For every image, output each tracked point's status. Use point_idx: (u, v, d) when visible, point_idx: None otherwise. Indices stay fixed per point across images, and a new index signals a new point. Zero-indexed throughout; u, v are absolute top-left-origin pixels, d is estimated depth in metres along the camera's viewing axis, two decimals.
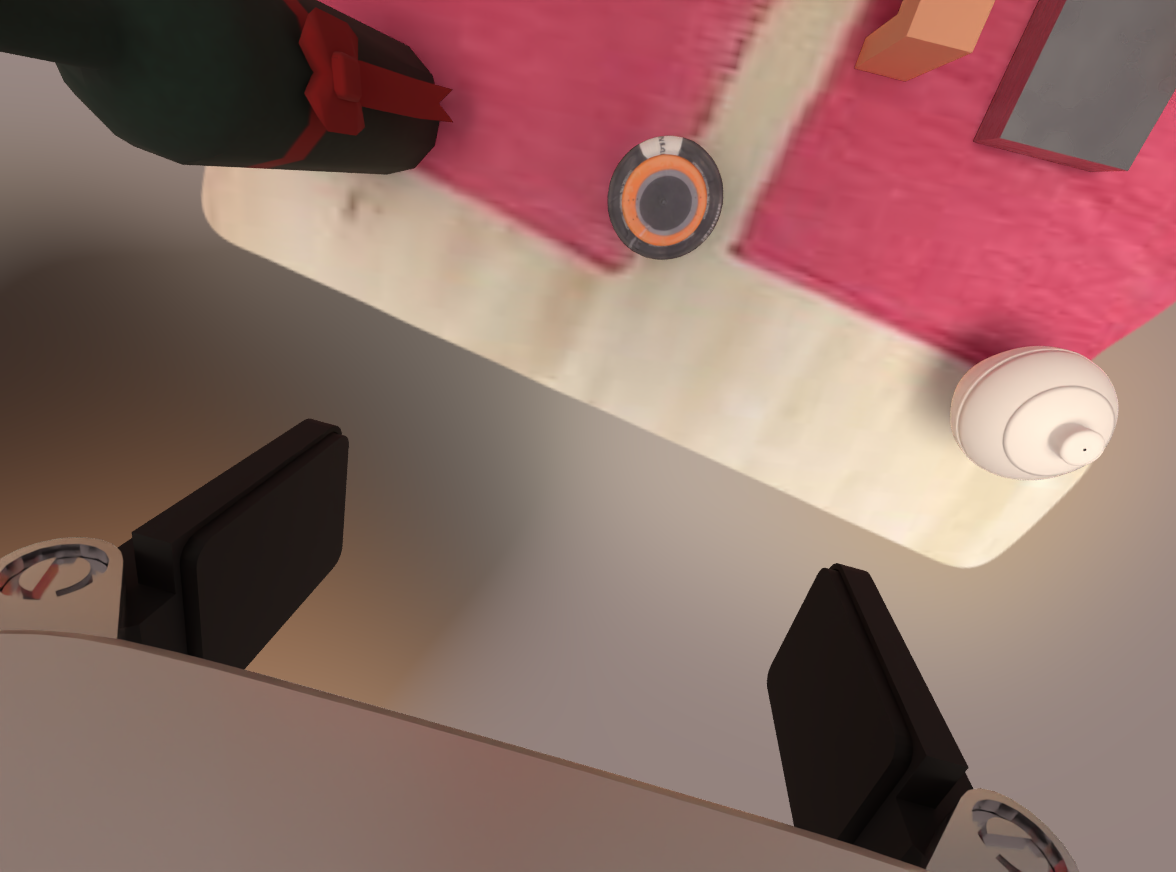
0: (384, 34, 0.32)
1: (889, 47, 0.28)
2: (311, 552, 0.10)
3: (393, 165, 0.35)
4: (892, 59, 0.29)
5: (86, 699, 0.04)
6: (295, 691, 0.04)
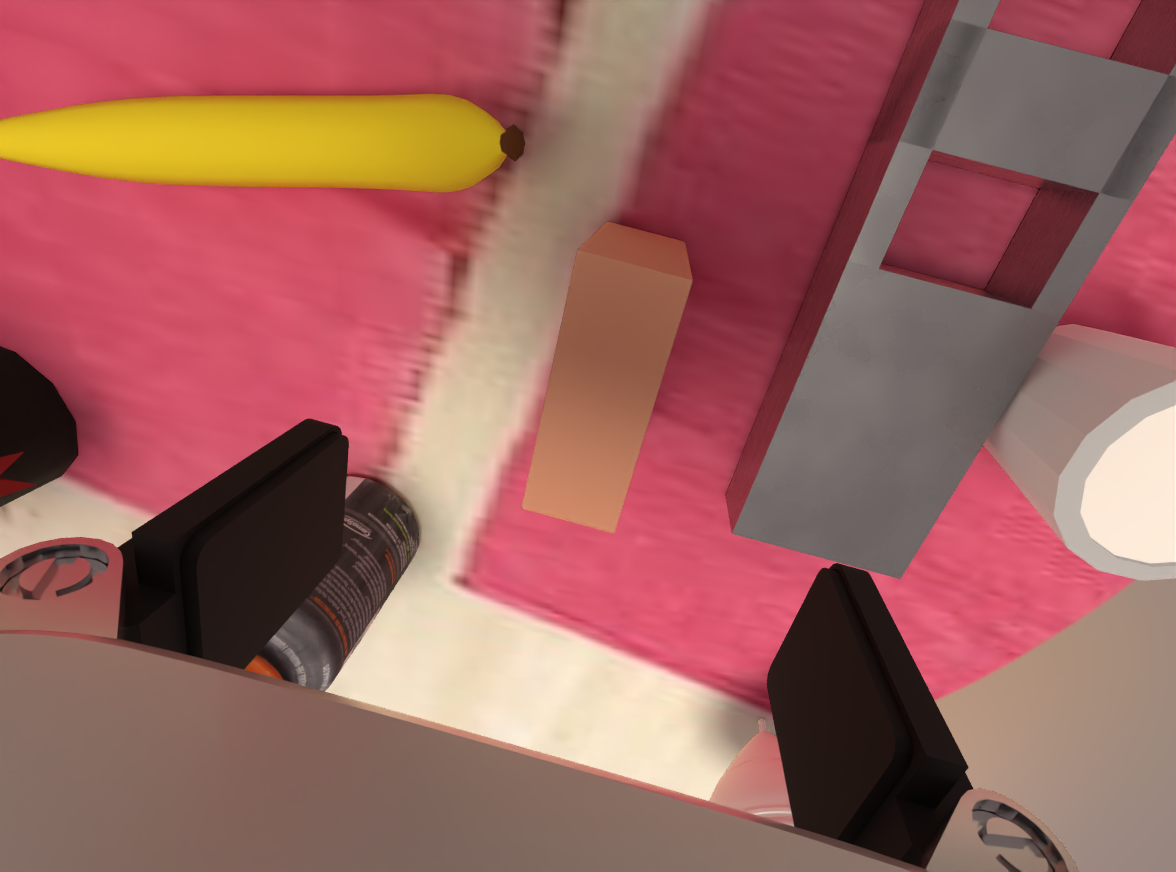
0: None
1: None
2: (311, 552, 0.10)
3: None
4: None
5: (86, 699, 0.04)
6: (295, 691, 0.04)
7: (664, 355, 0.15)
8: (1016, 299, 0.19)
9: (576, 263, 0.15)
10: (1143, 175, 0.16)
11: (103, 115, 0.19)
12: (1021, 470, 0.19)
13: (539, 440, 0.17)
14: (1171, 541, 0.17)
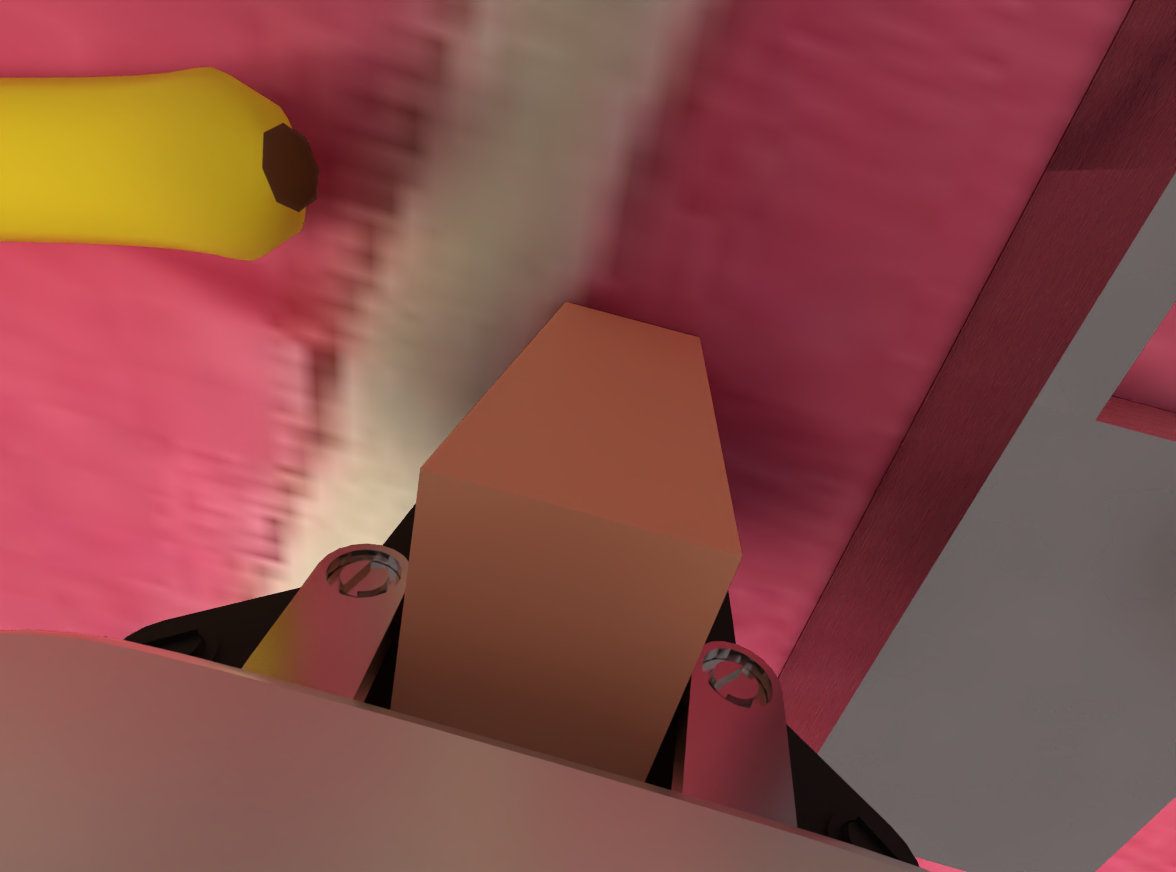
0: None
1: None
2: None
3: None
4: None
5: (86, 699, 0.04)
6: (295, 691, 0.04)
7: (663, 708, 0.06)
8: None
9: (422, 498, 0.05)
10: None
11: None
12: None
13: None
14: None
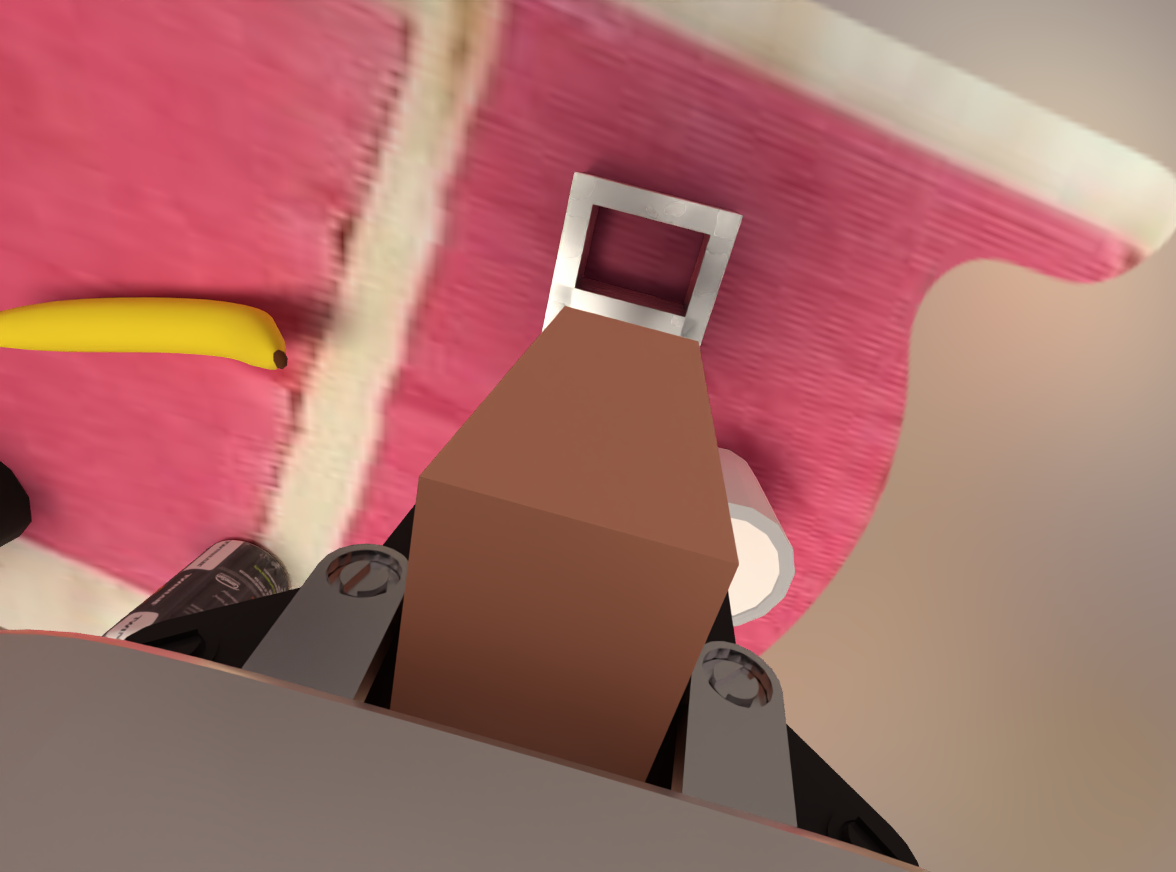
0: None
1: None
2: None
3: None
4: None
5: (86, 699, 0.04)
6: (295, 691, 0.04)
7: (660, 714, 0.06)
8: None
9: (421, 506, 0.05)
10: None
11: (35, 317, 0.28)
12: None
13: None
14: None
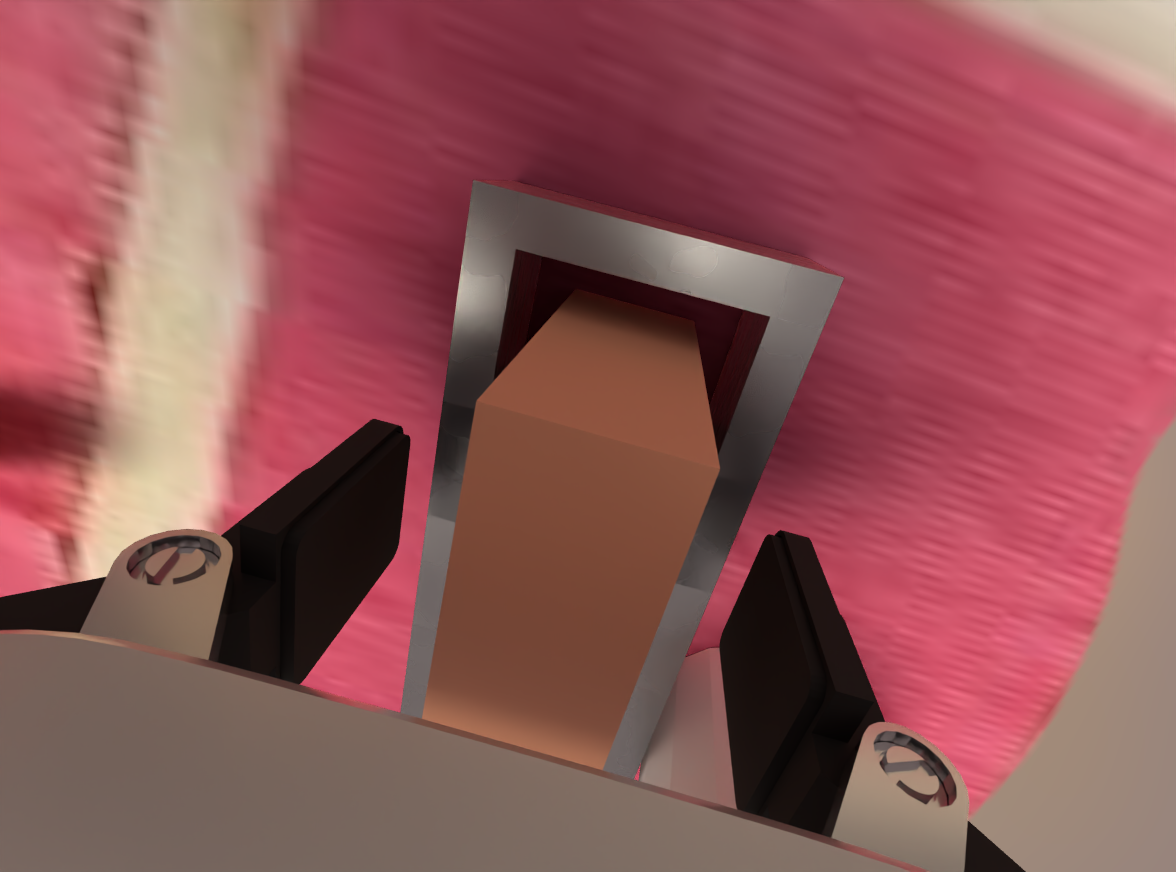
0: None
1: None
2: (376, 546, 0.11)
3: None
4: None
5: (86, 699, 0.04)
6: (295, 691, 0.04)
7: (659, 597, 0.08)
8: None
9: (476, 425, 0.07)
10: (715, 569, 0.13)
11: None
12: None
13: (429, 714, 0.09)
14: None
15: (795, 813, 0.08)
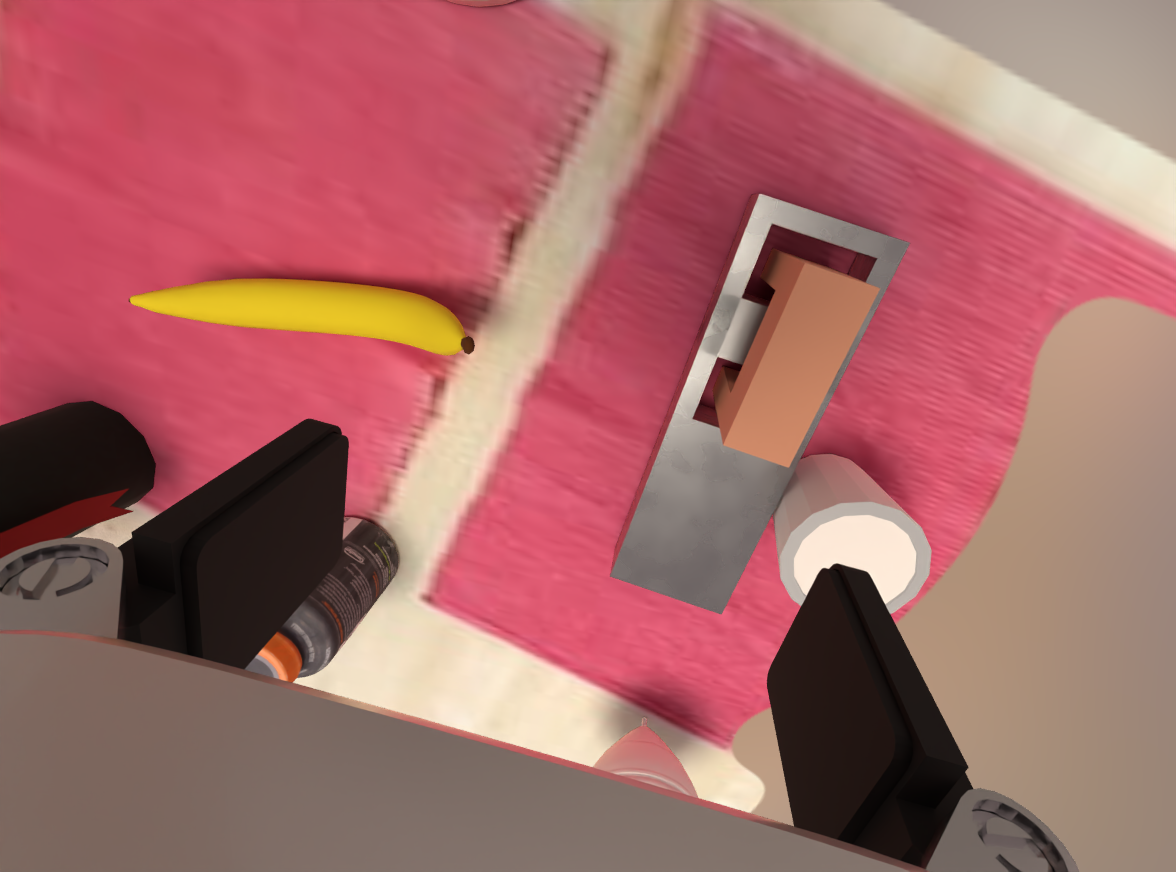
0: (72, 432, 0.36)
1: (720, 426, 0.27)
2: (311, 552, 0.10)
3: (95, 524, 0.38)
4: None
5: (86, 699, 0.04)
6: (295, 691, 0.04)
7: (851, 338, 0.23)
8: None
9: (802, 271, 0.22)
10: (836, 381, 0.28)
11: (222, 292, 0.30)
12: (777, 548, 0.30)
13: (748, 394, 0.24)
14: None
15: None
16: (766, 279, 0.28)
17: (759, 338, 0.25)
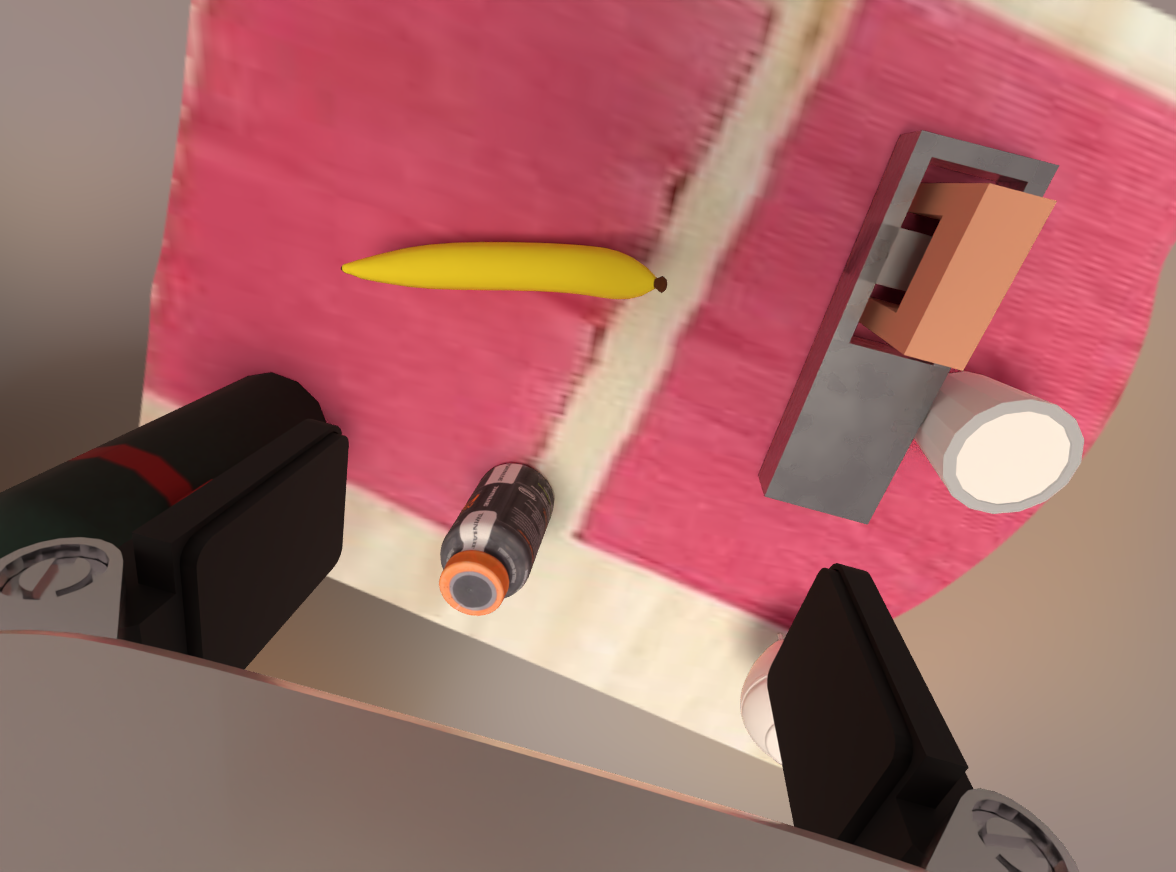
0: (269, 397, 0.40)
1: (888, 342, 0.31)
2: (311, 552, 0.10)
3: None
4: None
5: (86, 699, 0.04)
6: (295, 691, 0.04)
7: (1027, 248, 0.26)
8: None
9: (986, 191, 0.25)
10: None
11: (421, 256, 0.34)
12: (930, 454, 0.34)
13: (930, 306, 0.27)
14: (1005, 490, 0.32)
15: None
16: (919, 210, 0.31)
17: (931, 258, 0.28)
